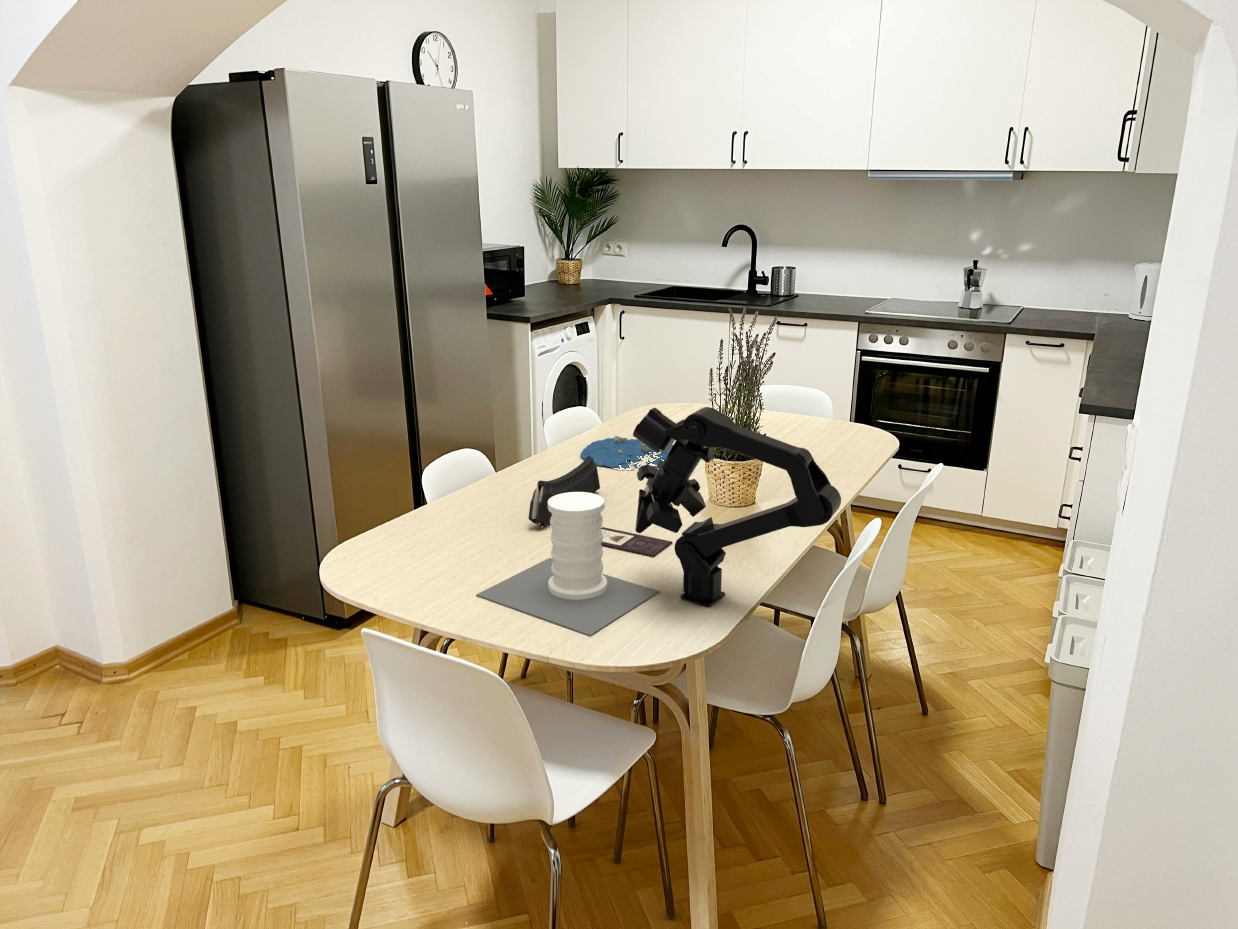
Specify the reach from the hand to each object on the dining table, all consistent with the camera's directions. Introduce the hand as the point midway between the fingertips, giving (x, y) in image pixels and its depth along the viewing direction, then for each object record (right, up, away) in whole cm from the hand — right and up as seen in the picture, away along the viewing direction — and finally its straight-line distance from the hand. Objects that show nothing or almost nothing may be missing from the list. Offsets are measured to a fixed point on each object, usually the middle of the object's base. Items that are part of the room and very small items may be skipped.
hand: (637, 531), depth 172 cm
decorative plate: (0, +15, +91) cm, 92 cm away
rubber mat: (-14, -12, +1) cm, 18 cm away
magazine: (-16, +1, +46) cm, 49 cm away
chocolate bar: (-2, -5, +26) cm, 27 cm away
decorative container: (-12, -11, +3) cm, 17 cm away
